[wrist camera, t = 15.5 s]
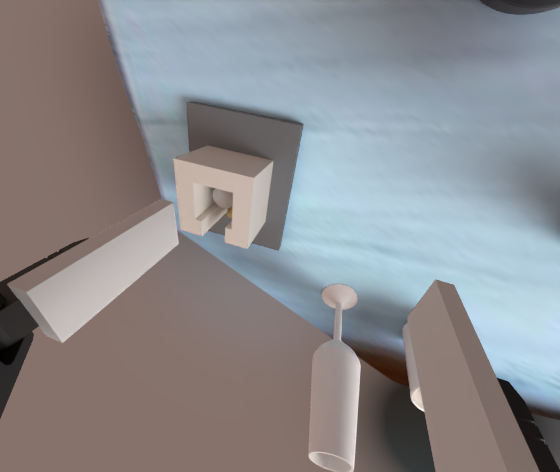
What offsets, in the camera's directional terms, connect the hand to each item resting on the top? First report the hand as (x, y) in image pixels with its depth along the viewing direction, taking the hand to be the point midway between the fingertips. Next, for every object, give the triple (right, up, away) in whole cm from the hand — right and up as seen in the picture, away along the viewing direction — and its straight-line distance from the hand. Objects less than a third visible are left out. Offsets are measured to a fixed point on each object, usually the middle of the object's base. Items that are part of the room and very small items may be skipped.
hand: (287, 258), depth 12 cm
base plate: (-6, +10, +25) cm, 28 cm away
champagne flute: (+11, -11, +33) cm, 36 cm away
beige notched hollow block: (-7, +9, +24) cm, 26 cm away
